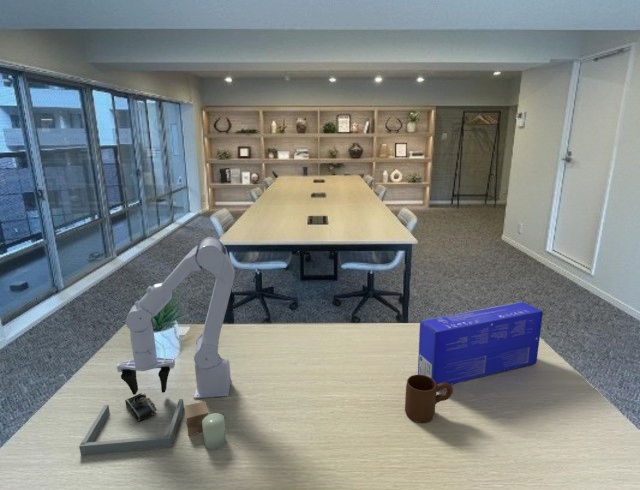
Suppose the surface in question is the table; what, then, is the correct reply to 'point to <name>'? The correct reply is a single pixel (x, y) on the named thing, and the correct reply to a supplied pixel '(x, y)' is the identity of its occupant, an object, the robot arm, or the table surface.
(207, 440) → the rounded green capsule
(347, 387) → the table surface
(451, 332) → the toner cartridge box
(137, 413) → the camera
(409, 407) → the mug
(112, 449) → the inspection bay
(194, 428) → the walnut block
